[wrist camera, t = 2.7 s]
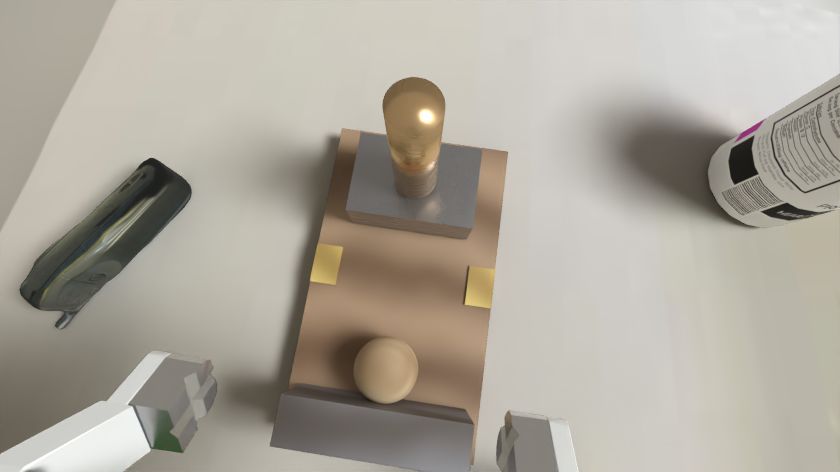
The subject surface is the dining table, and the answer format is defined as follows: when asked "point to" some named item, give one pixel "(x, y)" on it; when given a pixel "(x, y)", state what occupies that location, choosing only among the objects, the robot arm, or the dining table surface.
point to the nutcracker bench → (393, 334)
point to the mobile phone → (105, 240)
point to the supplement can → (783, 163)
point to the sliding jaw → (414, 168)
